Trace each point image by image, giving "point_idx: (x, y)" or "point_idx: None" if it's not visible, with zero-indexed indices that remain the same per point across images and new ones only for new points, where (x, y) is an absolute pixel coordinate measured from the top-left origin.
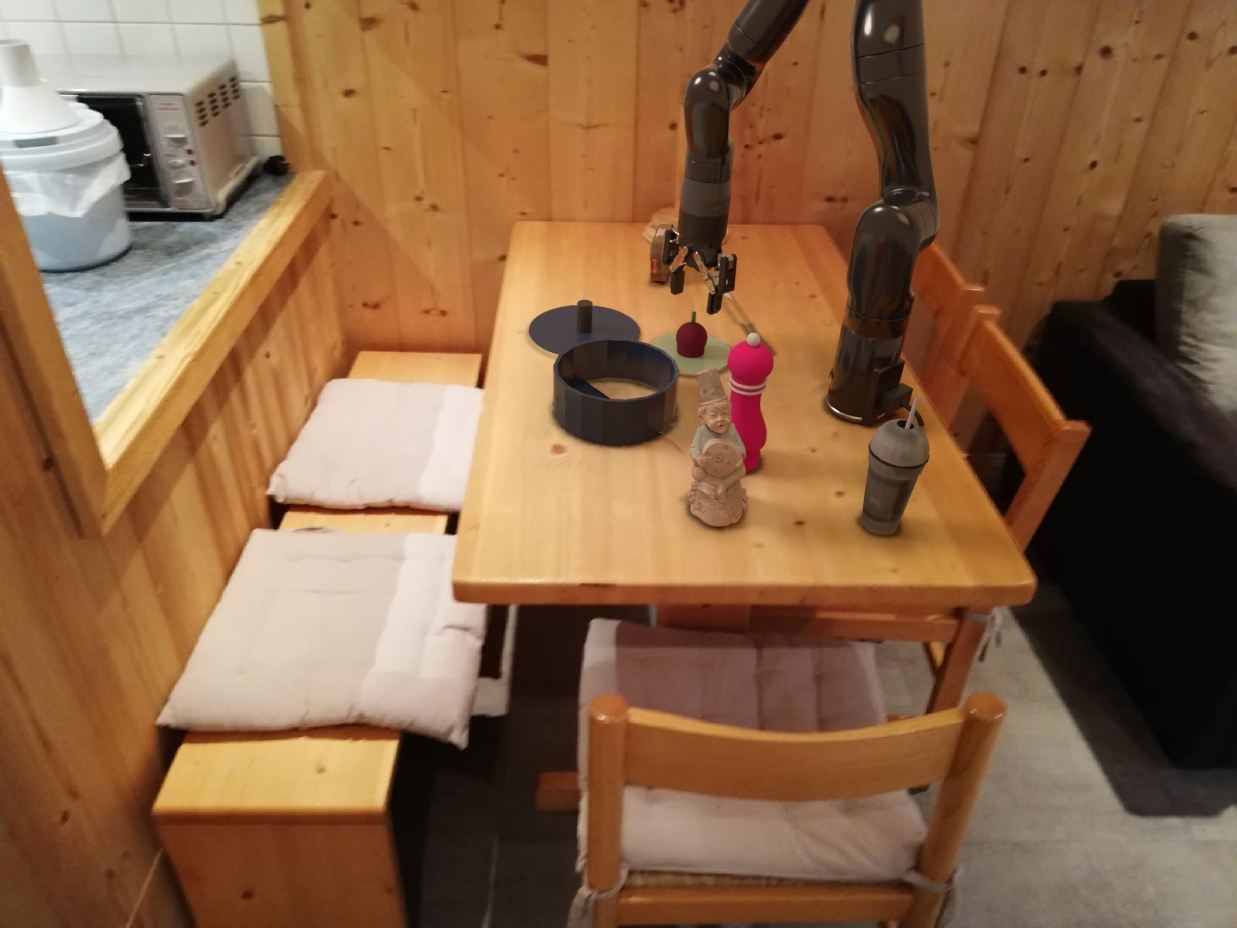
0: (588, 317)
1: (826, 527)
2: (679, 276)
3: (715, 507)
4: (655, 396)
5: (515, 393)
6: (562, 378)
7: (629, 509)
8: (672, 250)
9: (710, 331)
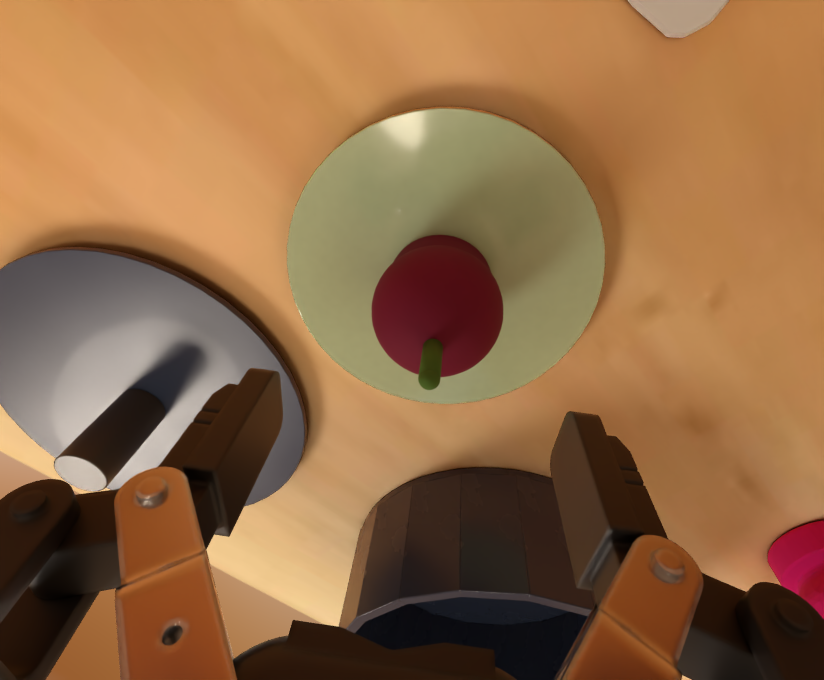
0: (134, 447)
1: None
2: (234, 487)
3: None
4: None
5: (312, 594)
6: (371, 621)
7: (683, 676)
8: (10, 678)
9: (351, 32)
